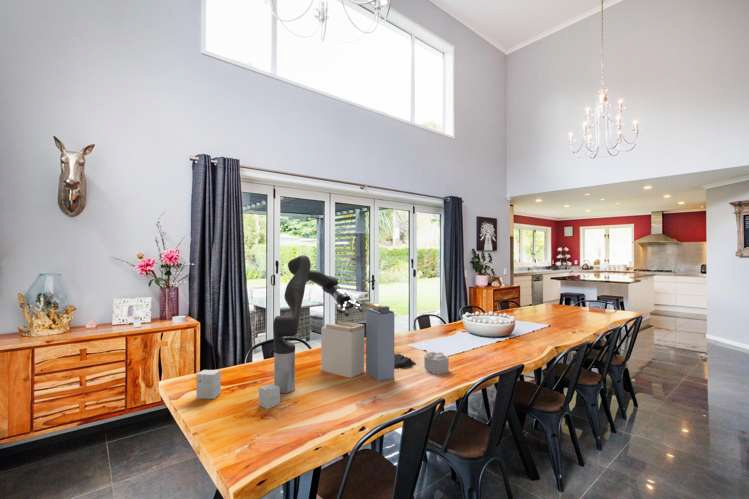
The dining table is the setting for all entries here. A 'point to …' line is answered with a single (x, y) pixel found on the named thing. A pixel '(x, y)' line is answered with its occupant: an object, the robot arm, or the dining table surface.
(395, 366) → the dark slate chunk
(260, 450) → the dining table surface
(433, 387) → the dining table surface
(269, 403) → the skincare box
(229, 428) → the dining table surface
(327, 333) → the upright beige carton
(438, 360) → the lumpy-topped squat cylinder
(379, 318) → the post
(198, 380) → the small box
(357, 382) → the dining table surface
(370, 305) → the pin
